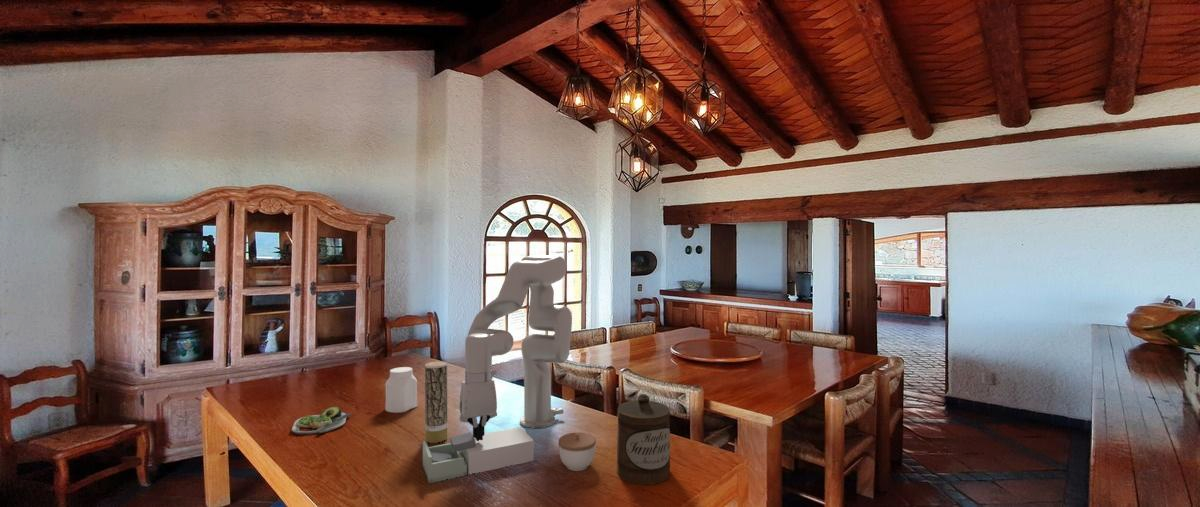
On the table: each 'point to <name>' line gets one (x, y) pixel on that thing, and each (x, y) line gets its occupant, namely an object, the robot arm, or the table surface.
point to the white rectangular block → (499, 450)
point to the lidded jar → (577, 450)
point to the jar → (401, 390)
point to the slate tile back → (462, 442)
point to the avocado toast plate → (321, 421)
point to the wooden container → (643, 441)
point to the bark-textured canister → (436, 401)
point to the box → (443, 463)
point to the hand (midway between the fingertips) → (478, 438)
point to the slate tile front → (440, 457)
